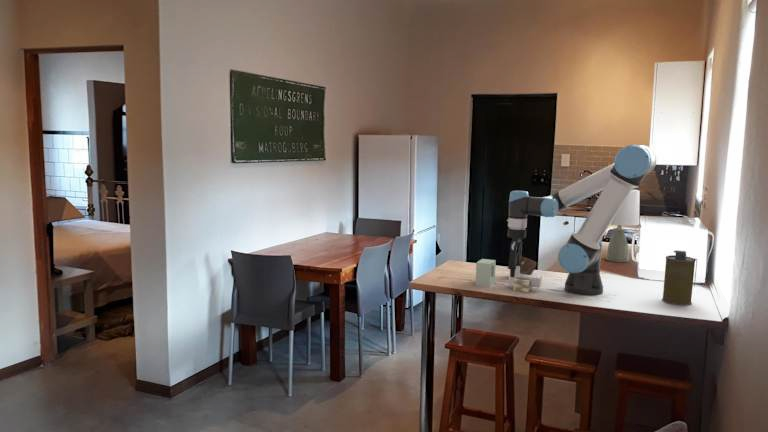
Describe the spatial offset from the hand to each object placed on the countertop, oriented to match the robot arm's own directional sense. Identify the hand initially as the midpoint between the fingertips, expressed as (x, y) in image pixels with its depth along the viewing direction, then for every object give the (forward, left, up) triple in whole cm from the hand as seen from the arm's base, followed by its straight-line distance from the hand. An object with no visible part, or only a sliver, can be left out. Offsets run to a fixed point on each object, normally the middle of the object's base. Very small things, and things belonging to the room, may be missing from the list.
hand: (514, 282), depth 249 cm
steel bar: (-5, 0, 0) cm, 5 cm away
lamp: (-36, -85, -2) cm, 92 cm away
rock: (+1, -19, -2) cm, 19 cm away
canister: (-62, -9, -2) cm, 63 cm away
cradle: (-4, 0, -2) cm, 4 cm away
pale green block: (+12, 0, -2) cm, 12 cm away
